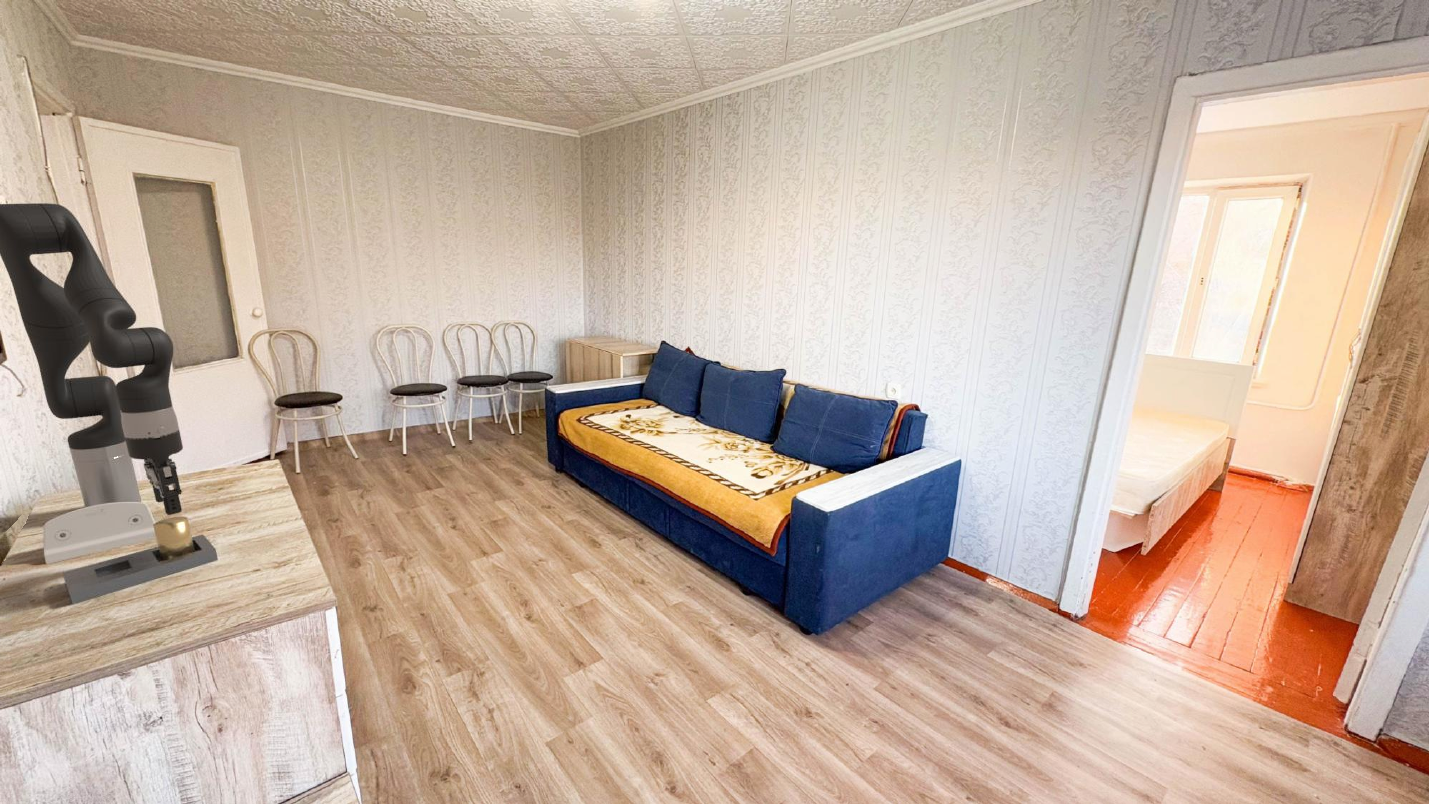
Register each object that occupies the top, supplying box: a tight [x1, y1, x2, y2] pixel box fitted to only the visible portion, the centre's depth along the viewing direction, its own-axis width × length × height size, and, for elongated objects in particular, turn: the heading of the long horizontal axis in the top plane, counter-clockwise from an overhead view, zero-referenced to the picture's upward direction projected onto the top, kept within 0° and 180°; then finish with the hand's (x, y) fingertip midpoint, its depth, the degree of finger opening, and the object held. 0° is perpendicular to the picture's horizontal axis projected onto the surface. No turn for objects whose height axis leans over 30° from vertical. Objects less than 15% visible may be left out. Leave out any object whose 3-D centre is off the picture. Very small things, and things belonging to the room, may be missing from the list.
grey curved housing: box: [43, 502, 156, 565], centre depth 117 cm, size 17×5×10 cm, turn 136°
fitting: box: [153, 515, 196, 562], centre depth 112 cm, size 5×5×9 cm
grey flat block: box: [62, 534, 219, 605], centre depth 109 cm, size 10×20×2 cm, turn 144°
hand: (168, 507), depth 110 cm, fingers open, 8 cm apart
